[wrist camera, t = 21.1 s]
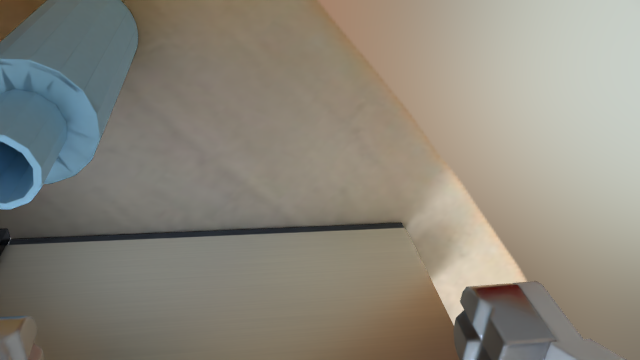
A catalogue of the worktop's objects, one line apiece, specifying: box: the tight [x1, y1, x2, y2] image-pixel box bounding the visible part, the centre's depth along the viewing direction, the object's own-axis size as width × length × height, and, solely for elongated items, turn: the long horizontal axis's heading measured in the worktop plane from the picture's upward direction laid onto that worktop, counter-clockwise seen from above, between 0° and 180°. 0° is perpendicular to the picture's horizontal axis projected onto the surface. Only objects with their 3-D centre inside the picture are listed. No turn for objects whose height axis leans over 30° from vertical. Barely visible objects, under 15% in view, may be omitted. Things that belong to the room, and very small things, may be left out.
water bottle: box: [0, 0, 138, 210], centre depth 28 cm, size 6×6×18 cm
